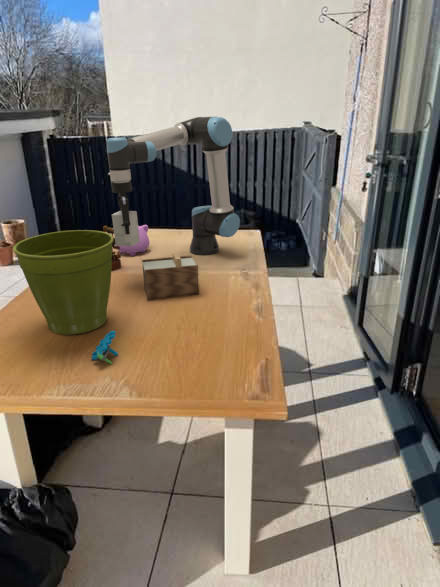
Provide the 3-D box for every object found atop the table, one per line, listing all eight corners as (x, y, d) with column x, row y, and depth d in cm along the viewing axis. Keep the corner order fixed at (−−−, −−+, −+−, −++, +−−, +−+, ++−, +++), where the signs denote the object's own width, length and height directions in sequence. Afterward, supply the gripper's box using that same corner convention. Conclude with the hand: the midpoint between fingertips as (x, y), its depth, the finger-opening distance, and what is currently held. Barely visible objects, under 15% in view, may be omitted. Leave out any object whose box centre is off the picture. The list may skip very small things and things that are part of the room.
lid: (192, 260, 173) (191, 250, 171) (197, 268, 163) (197, 258, 161) (142, 264, 168) (141, 254, 166) (145, 273, 158) (144, 263, 157)
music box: (126, 263, 203) (121, 222, 193) (122, 272, 193) (117, 230, 184) (94, 263, 202) (88, 223, 193) (89, 273, 192) (82, 231, 183)
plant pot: (116, 300, 161) (107, 226, 150) (128, 335, 135) (119, 249, 124) (32, 312, 152) (16, 234, 141) (28, 352, 126) (8, 260, 115)
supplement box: (140, 241, 172) (137, 210, 167) (131, 247, 165) (128, 215, 160) (124, 240, 174) (120, 210, 169) (114, 245, 167) (111, 214, 162)
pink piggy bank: (133, 243, 234) (130, 216, 228) (159, 249, 223) (157, 221, 218) (105, 252, 220) (102, 223, 214) (132, 259, 209) (129, 229, 203)
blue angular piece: (95, 342, 128) (115, 323, 124) (110, 353, 130) (131, 334, 126) (84, 366, 118) (105, 346, 115) (101, 377, 120) (123, 358, 117)
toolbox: (192, 282, 178) (191, 255, 173) (198, 294, 166) (197, 265, 161) (144, 287, 173) (142, 259, 168) (147, 299, 161) (145, 270, 157)
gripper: (109, 177, 169) (116, 232, 178) (112, 186, 149) (119, 247, 158) (128, 176, 171) (134, 230, 179) (133, 184, 151) (139, 245, 160)
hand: (127, 238), depth 169 cm, fingers closed on supplement box, 10 cm apart
